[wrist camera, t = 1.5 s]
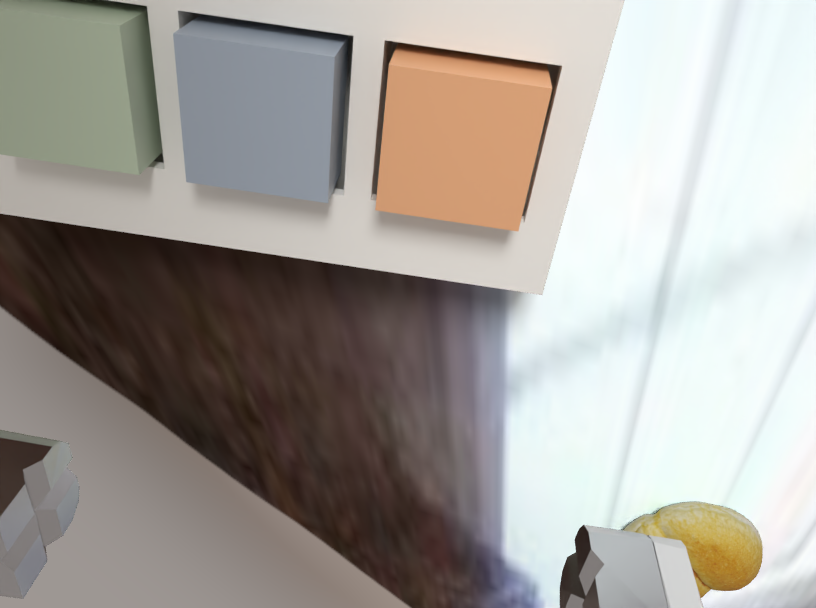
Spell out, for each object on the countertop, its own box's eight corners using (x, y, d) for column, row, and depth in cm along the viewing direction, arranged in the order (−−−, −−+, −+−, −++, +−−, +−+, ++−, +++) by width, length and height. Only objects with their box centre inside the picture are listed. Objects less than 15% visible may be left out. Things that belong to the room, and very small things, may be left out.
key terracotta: (398, 42, 27) (388, 64, 25) (547, 64, 27) (552, 88, 25) (384, 179, 31) (375, 210, 28) (516, 198, 31) (518, 231, 28)
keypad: (-28, -141, 27) (-99, -136, 24) (616, -51, 27) (633, -33, 24) (43, 177, 35) (-2, 213, 32) (537, 250, 35) (542, 295, 32)
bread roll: (772, 547, 47) (793, 601, 44) (650, 581, 51) (661, 634, 47) (725, 478, 44) (744, 531, 40) (597, 520, 47) (605, 572, 44)
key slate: (201, 14, 27) (172, 33, 25) (348, 35, 27) (334, 57, 25) (210, 153, 31) (186, 182, 28) (340, 172, 31) (327, 203, 28)
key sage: (6, -14, 27) (-41, 2, 25) (152, 7, 27) (119, 25, 25) (37, 127, 31) (-1, 154, 29) (167, 147, 31) (139, 175, 28)
